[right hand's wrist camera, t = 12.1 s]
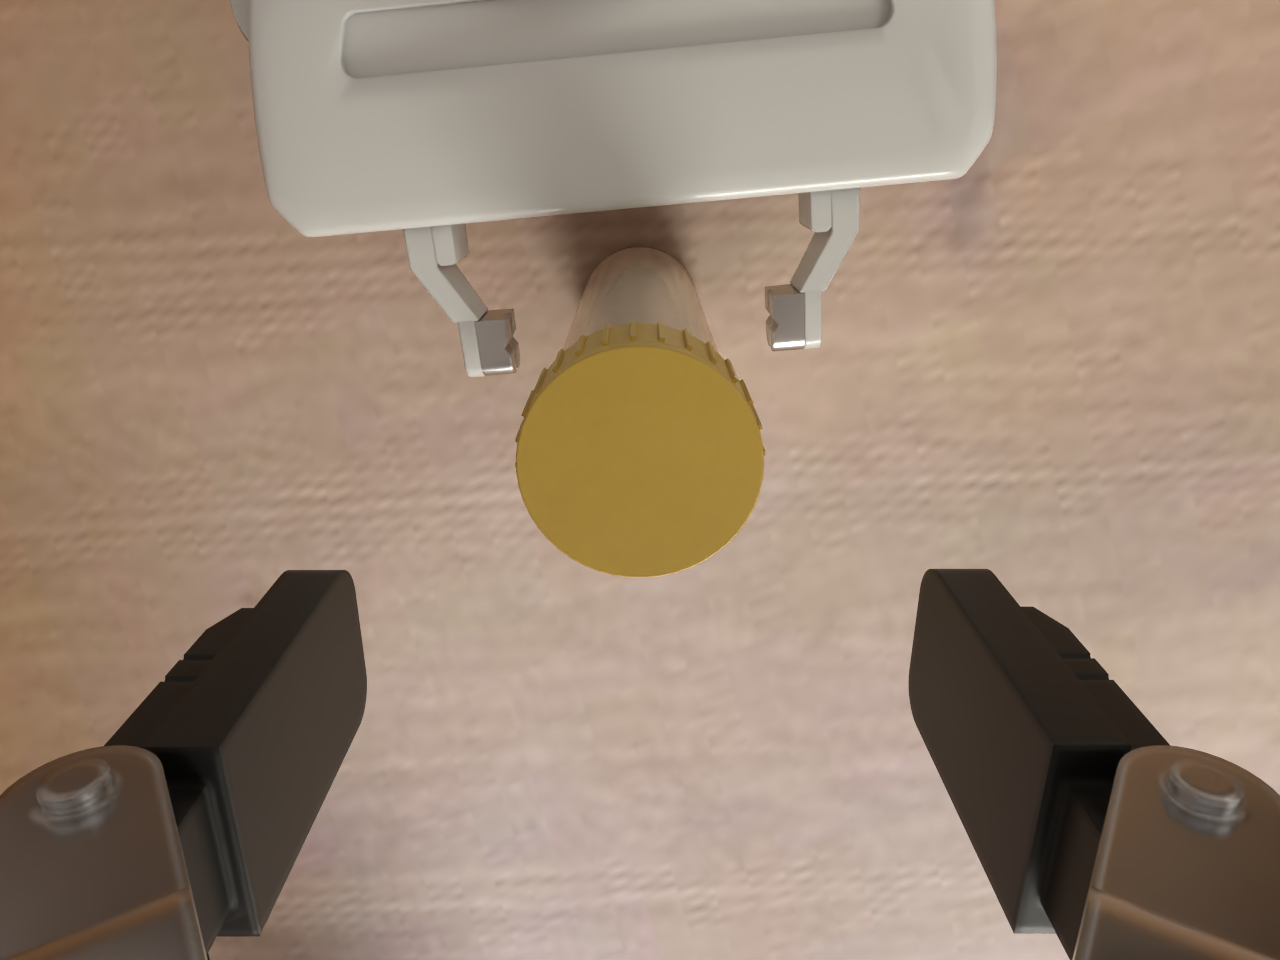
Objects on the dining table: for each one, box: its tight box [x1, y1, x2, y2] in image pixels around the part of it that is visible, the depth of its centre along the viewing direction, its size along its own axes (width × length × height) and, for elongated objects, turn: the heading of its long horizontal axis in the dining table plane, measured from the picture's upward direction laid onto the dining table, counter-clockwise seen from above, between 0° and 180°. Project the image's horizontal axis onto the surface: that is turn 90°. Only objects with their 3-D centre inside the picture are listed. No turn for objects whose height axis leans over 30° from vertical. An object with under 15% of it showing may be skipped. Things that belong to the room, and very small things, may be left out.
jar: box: [563, 247, 719, 354], centre depth 25 cm, size 4×4×17 cm
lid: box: [515, 320, 765, 578], centre depth 18 cm, size 5×5×2 cm
